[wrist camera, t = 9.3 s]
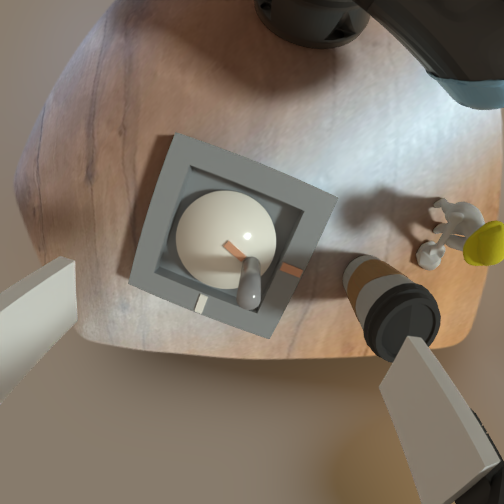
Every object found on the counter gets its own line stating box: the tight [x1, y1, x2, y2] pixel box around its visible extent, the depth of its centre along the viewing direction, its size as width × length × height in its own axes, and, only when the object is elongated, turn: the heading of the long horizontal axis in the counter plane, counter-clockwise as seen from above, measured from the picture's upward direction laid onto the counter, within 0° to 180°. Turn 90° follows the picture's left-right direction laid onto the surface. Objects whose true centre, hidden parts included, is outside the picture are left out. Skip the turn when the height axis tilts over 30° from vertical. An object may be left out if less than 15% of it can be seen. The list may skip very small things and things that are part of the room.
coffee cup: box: [343, 255, 441, 363], centre depth 31 cm, size 8×8×15 cm
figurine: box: [416, 198, 504, 270], centre depth 29 cm, size 10×9×15 cm
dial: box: [176, 190, 276, 310], centre depth 31 cm, size 12×12×11 cm
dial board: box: [128, 132, 338, 339], centre depth 36 cm, size 20×20×3 cm
